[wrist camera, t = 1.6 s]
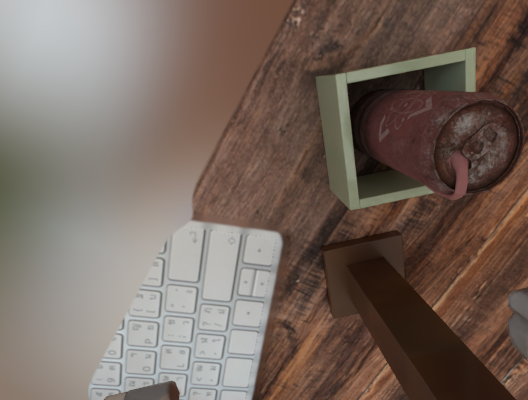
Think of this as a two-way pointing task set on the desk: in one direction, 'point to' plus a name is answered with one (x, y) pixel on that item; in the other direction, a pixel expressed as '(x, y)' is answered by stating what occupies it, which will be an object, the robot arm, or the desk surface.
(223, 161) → the desk surface
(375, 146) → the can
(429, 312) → the post
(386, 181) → the holder
